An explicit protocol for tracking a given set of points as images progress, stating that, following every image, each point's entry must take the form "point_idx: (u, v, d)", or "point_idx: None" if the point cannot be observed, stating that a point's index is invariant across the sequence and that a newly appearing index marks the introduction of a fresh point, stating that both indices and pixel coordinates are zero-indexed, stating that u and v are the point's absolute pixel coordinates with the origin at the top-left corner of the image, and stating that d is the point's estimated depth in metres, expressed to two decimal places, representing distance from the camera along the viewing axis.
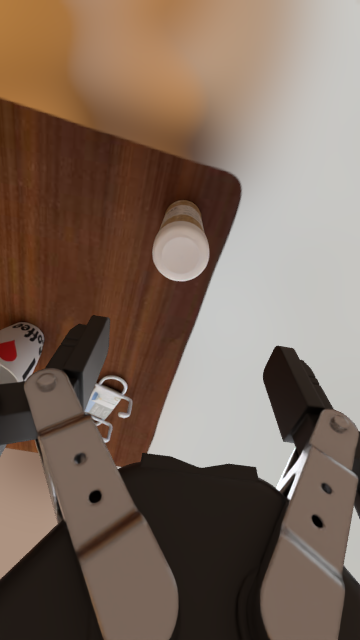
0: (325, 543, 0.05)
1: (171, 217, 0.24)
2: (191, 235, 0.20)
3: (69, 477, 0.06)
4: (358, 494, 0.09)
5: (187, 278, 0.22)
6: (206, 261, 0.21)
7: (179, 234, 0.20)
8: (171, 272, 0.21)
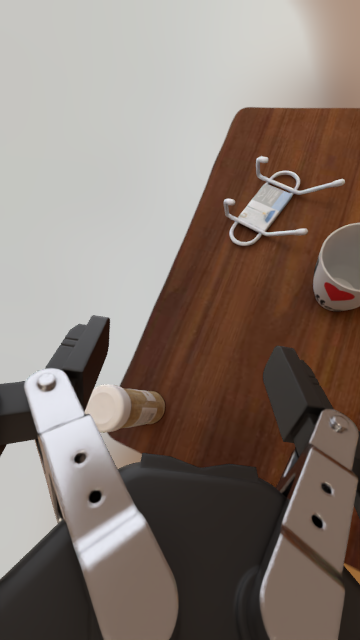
0: (325, 543, 0.05)
1: (128, 426, 0.29)
2: None
3: (69, 477, 0.06)
4: (358, 494, 0.09)
5: (100, 387, 0.27)
6: None
7: (99, 426, 0.25)
8: (111, 394, 0.26)
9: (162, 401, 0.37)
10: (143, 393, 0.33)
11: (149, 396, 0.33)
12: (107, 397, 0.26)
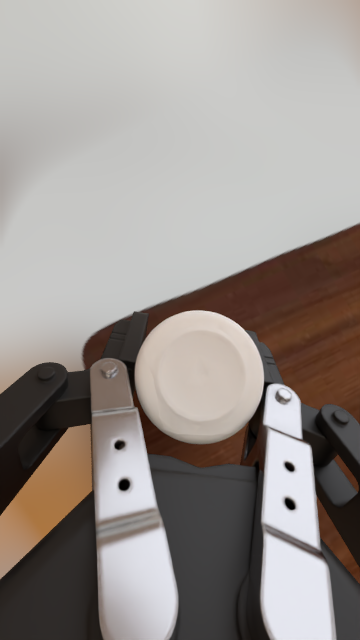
0: (301, 524, 0.06)
1: None
2: (149, 386, 0.09)
3: (106, 459, 0.06)
4: None
5: (231, 325, 0.09)
6: (173, 319, 0.09)
7: (165, 410, 0.08)
8: (246, 364, 0.09)
9: None
10: None
11: None
12: (232, 363, 0.09)
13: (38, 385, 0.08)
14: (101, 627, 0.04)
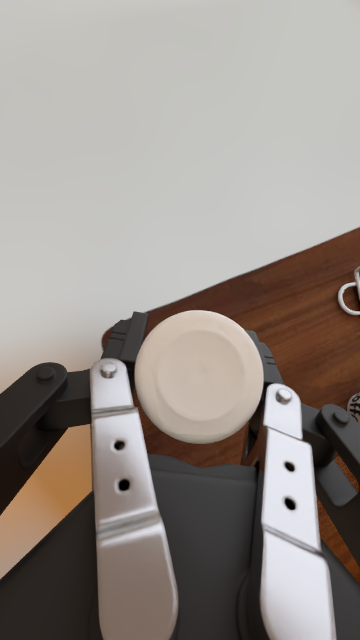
0: (301, 524, 0.06)
1: None
2: (149, 386, 0.09)
3: (106, 459, 0.06)
4: None
5: (231, 325, 0.09)
6: (173, 319, 0.09)
7: (165, 409, 0.08)
8: (245, 364, 0.09)
9: None
10: None
11: None
12: (231, 363, 0.09)
13: (38, 385, 0.08)
14: (101, 627, 0.04)
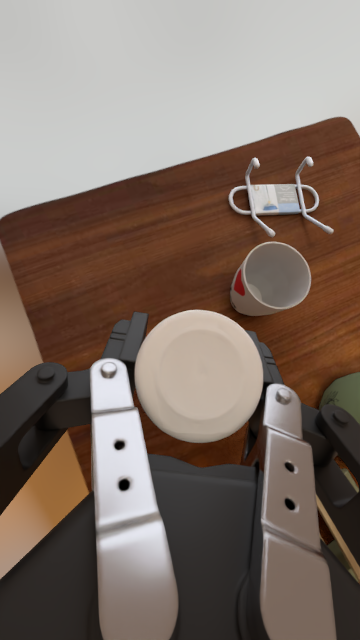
0: (301, 524, 0.06)
1: None
2: (149, 385, 0.09)
3: (106, 459, 0.06)
4: None
5: (231, 325, 0.09)
6: (173, 318, 0.09)
7: (165, 409, 0.08)
8: (245, 363, 0.09)
9: None
10: None
11: None
12: (231, 362, 0.09)
13: (38, 385, 0.08)
14: (101, 627, 0.04)
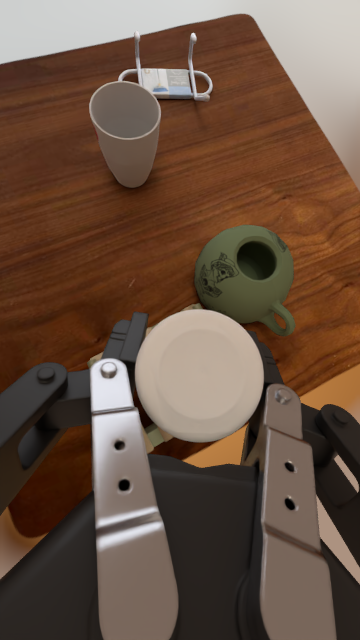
0: (301, 523, 0.06)
1: None
2: (150, 384, 0.09)
3: (106, 459, 0.06)
4: None
5: (231, 324, 0.09)
6: (173, 318, 0.09)
7: (165, 408, 0.08)
8: (246, 363, 0.09)
9: None
10: None
11: None
12: (232, 362, 0.09)
13: (38, 385, 0.08)
14: (101, 627, 0.04)
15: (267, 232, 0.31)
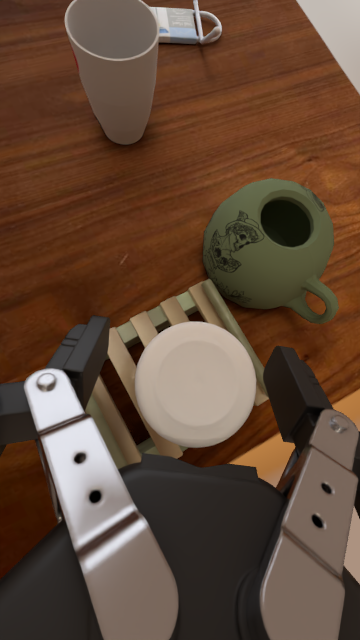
0: (325, 543, 0.05)
1: None
2: (148, 393, 0.09)
3: (69, 477, 0.06)
4: (358, 494, 0.09)
5: (226, 336, 0.10)
6: (171, 330, 0.10)
7: (163, 416, 0.09)
8: (239, 372, 0.10)
9: None
10: None
11: None
12: (226, 371, 0.10)
13: None
14: None
15: (299, 186, 0.24)
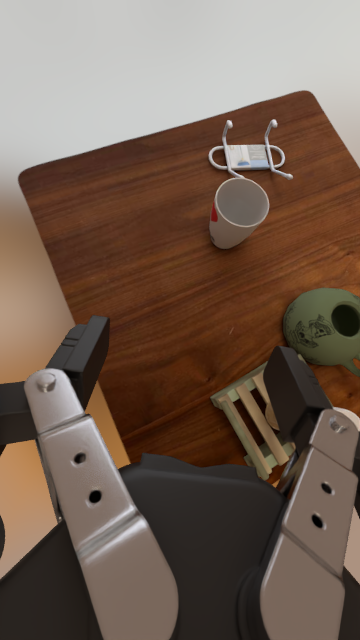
0: (325, 543, 0.05)
1: None
2: None
3: (69, 477, 0.06)
4: (358, 494, 0.09)
5: (353, 415, 0.26)
6: None
7: None
8: None
9: None
10: None
11: None
12: None
13: None
14: None
15: (353, 297, 0.39)
